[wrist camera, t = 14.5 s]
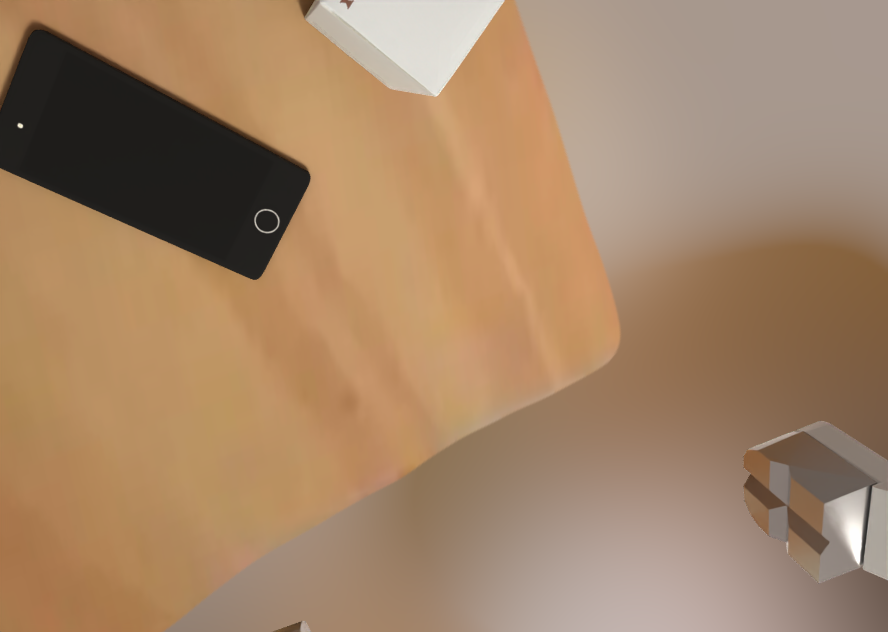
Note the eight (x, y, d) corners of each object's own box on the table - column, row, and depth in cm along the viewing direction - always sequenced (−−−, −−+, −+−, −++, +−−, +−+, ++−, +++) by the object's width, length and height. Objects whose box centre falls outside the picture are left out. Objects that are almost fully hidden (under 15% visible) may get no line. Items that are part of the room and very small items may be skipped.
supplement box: (391, 93, 42) (435, 104, 31) (300, 17, 39) (312, 0, 28) (455, 1, 41) (524, -21, 30) (367, -83, 38) (407, -145, 27)
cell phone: (258, 278, 45) (258, 282, 44) (-13, 157, 38) (-20, 160, 37) (312, 173, 43) (313, 175, 43) (38, 25, 36) (32, 24, 35)
